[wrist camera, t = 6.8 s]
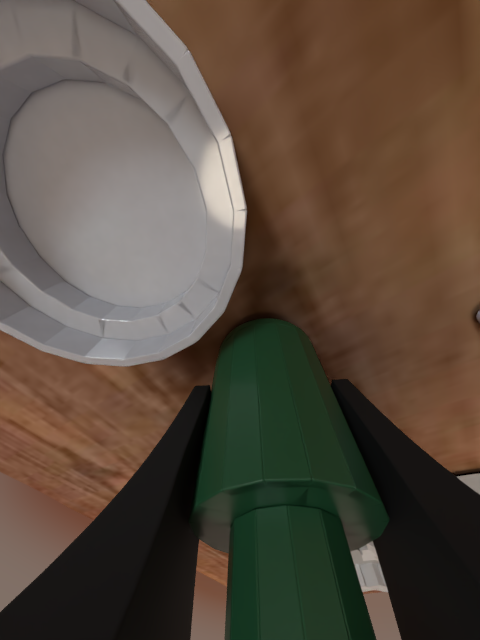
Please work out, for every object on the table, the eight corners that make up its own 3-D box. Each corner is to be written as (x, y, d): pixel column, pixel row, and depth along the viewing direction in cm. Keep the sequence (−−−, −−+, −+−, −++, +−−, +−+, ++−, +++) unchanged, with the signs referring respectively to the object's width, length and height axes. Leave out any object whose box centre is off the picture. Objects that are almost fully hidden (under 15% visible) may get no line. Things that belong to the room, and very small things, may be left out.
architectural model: (665, 443, 16) (723, 477, 14) (548, 567, 29) (570, 593, 27) (216, 506, 22) (214, 535, 20) (287, 583, 35) (289, 605, 34)
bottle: (333, 355, 12) (545, 741, 3) (267, 404, 14) (299, 723, 5) (263, 297, 10) (338, 744, 2) (200, 362, 12) (102, 717, 4)
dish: (300, 200, 9) (325, 202, 6) (164, 358, 13) (141, 402, 10) (12, -110, 6) (-218, -413, 3) (-46, 233, 10) (-162, 248, 7)
